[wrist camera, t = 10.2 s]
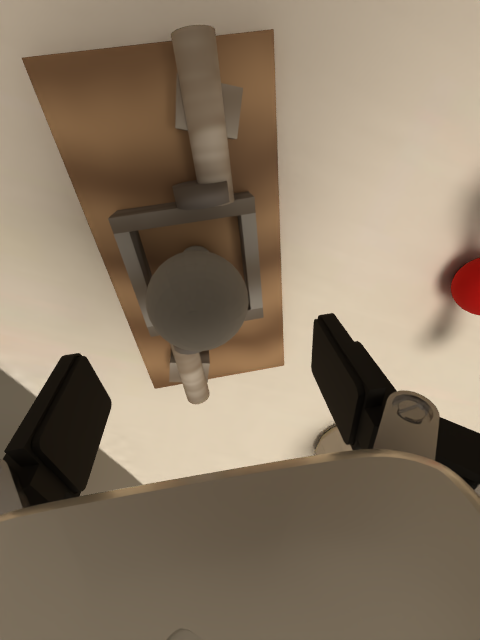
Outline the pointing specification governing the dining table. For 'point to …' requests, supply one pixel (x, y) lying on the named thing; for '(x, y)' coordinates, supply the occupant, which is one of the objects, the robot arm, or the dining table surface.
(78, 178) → the shaft bench
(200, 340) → the light bulb
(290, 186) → the dining table surface
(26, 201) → the dining table surface
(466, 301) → the molecular model
